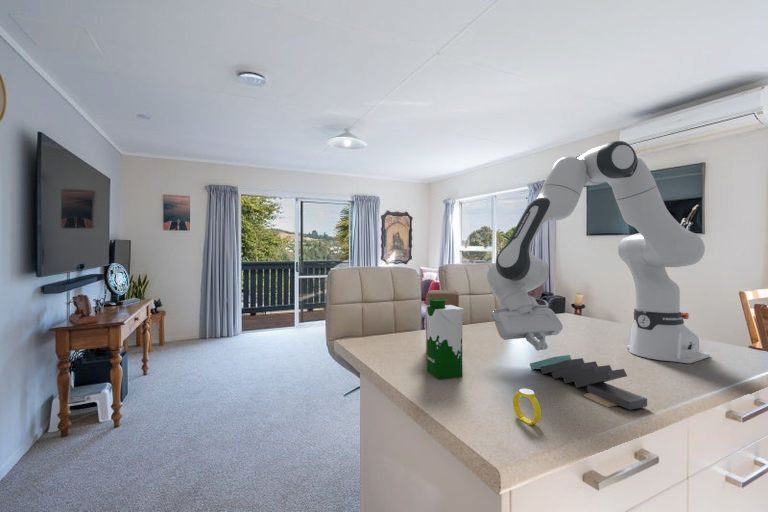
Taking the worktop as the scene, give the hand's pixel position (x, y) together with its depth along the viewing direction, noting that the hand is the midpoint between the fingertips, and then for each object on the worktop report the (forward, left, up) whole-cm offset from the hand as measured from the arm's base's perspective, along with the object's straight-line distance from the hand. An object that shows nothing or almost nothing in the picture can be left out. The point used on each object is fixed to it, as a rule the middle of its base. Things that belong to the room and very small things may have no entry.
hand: (542, 349), depth 99 cm
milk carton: (+27, -6, -6) cm, 28 cm away
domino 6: (0, +17, -5) cm, 17 cm away
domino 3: (0, +6, -5) cm, 8 cm away
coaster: (0, +20, -6) cm, 21 cm away
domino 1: (0, -2, -5) cm, 6 cm away
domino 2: (0, +2, -5) cm, 6 cm away
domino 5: (0, +13, -5) cm, 14 cm away
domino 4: (0, +10, -5) cm, 11 cm away
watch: (+25, +23, -6) cm, 34 cm away
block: (+18, -24, -6) cm, 31 cm away
